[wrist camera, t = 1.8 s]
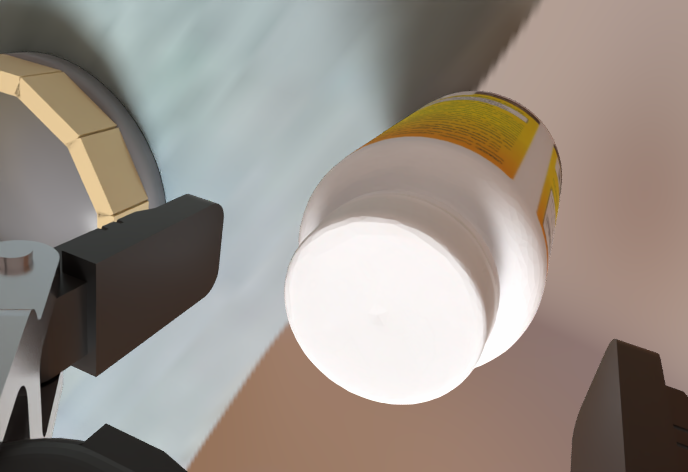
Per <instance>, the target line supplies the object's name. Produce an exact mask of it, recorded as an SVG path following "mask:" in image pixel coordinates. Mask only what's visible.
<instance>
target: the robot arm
mask: <svg viewBox="0 0 688 472" xmlns="http://www.w3.org/2000/svg"><path fill="white" fill-rule="evenodd" d="M223 220H224V213H223V209H222V207H221V205H219V204H217V203H214V202H211V201H208V200H205V199H202V198H199V197H196V196H193V195H190V194H185V195H183V196H181V197H178V198H176V199H174V200H172V201H170V202H167V203H165V204H163V205H161V206H158V207H156V208H152V209H147V210H141V211H136V212H133V213H131V214H129V215H126V216H124V217H122V218H120V219H117V222H114V221H113V222H111V223H108V224H106V225H104V226H102V228H101V229H100V228H97V229H95V230H92V231H90V232H88V233H86V234H83V235H81V236H79V237H76V238H74V239H72V240H70V241H67V242H65V243H63V244H61V245H58V246H56V247H54V248H53V247H51V246H49V245H46V244H44V243H40V242H35V241H27V240H11V241H2V242H0V472H187V471H186V470H185V469H184V468H182V467H181V466H180V465H179V464H178V463H177V462H176V461H174V460H173V459H172V458H171V457H170V456H169V455H167V454H166V453H165V452H164V451H162V450H160V449H158V448H156V447H154V446H151V445H149V444H147V443H145V442H143V441H141V440H139V439H137V438H135V437H133V436H131V435H129V434H127V433H125V432H122V431H120V430H118V429H116V428H114V427H112V426H110V425H108V424H105V425H104V426H102V427H101V428H100V429H99V430H98V431H97V432H95V433H94V434H93V435H92V436H91V437H90V438H88V439H87V440H86V441H81V440H73V439H64V438H52V434H53V429H54V425H55V420H56V416H57V411H58V406H59V402H60V397H61V393H62V388H63V370H65V369H66V368H68V367H69V366H73V367H76V368H78V369H80V370H82V371H84V372H86V373H89V374H91V375H93V376H95V377H97V376H98V375H99V374H101V373H102V372H103V371H105V370H106V369H108V368H109V367H110V366H112V365H113V364H114V363H116V362H117V361H118V360H120V359H121V358H122V357H124V356H125V355H127V354H128V353H129V352H131V351H132V350H133V349H135V348H136V347H137V346H139V345H140V344H141V343H143V342H144V341H146V340H147V339H148V338H150V337H151V336H152V335H154V334H155V333H156V332H158V331H159V330H160V329H162V328H163V327H164V326H166V325H167V324H169V323H170V322H171V321H173V320H174V319H175V318H177V317H178V316H179V315H181V314H182V313H183V312H185V311H186V310H188V309H189V308H190V307H192V306H193V305H194V304H196V303H197V302H198V301H200V300H201V299H202V298H204V297H205V296H206V295H207V294H208V293H209V292H210V290H211V289H212V287H213V285H214V283H215V281H216V278H217V275H218V270H219V260H220V250H221V240H222V230H223ZM571 472H688V397H687V395H686V394H685V393H684V392H683V391H680V390H677V389H674V388H671V387H668V386H666V385H665V380H664V375H663V370H662V365H661V359H660V356H659V354H658V353H656V352H653V351H650V350H647V349H644V348H641V347H638V346H635V345H632V344H629V343H626V342H623V341H620V340H617V339H613V340H612V341H611V342H610V344H609V346H608V348H607V350H606V351H605V354H604V356H603V358H602V361H601V363H600V365H599V367H598V370H597V372H596V374H595V376H594V379H593V381H592V383H591V386H590V388H589V390H588V392H587V395H586V397H585V399H584V401H583V404H582V406H581V409H580V411H579V414H578V417H577V420H576V424H575V428H574V432H573V438H572V454H571Z"/></svg>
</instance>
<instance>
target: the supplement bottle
mask: <svg viewBox="0 0 688 472" xmlns="http://www.w3.org/2000/svg"><path fill="white" fill-rule="evenodd" d="M561 184H562V170H561V161H560V157H559V153H558V150H557V147H556V145H555V142H554V140H553V138H552V136H551V135H550V133H549V131H548V130H547V128H546V127H545V125H544V124H543V123H542V122H541V121H540V120H539V119H538V117H536V116H535V115H534V114H533V113H532V112H531V111H530V110H528V109H527V108H526V107H524V106H522V105H521V104H520V103H518V102H516V101H514V100H512V99H510V98H507V97H504V96H501V95H498V94H495V93H490V92H484V91H464V92H458V93H453V94H450V95H446V96H443V97H441V98H438V99H436V100H434V101H432V102H430V103H429V104H427V105H425V106H423V107H422V108H420V109H419V110H417V111H416V112H414V113H413V114H411V115H410V116H408V117H406V118H405V119H403V120H402V121H400V122H399V123H397V124H396V125H394V126H392V127H391V128H389V129H388V130H386V131H385V132H383V133H382V134H380V135H379V136H377V137H376V138H374V139H373V140H371V141H370V142H368V143H367V144H365V145H363V146H362V147H361V148H359V149H357V150H356V151H354V152H353V153H351V154H350V155H348V156H347V157H345V158H344V159H343V160H342V161H340V162H339V163H338V164H337V165H336V166H334V167H333V168H332V169H331V170H330V171H329V172H328V173H327V174H326V175H325V176H324V178H323V179H322V180H321V181H320V183H319V184H318V185H317V187H316V189H315V190H314V192H313V193H312V195H311V197H310V199H309V201H308V204H307V206H306V209H305V212H304V214H303V218H302V222H301V226H300V233H299V247H298V249H297V250H296V251H295V253H294V255H293V257H292V259H291V262H290V264H289V267H288V271H287V274H286V279H285V286H284V297H285V307H286V312H287V316H288V320H289V323H290V326H291V328H292V331H293V333H294V335H295V337H296V339H297V341H298V343H299V345H300V346H301V348H302V350H303V351H304V353H305V354H306V355H307V357H308V358H309V359H310V360H311V362H312V363H313V364H314V365H315V366H316V367H317V368H318V369H319V370H320V371H321V372H322V373H323V374H325V375H326V376H327V377H328V378H329V379H331V380H332V381H333V382H335V383H336V384H338V385H340V386H341V387H343V388H344V389H346V390H348V391H350V392H352V393H354V394H356V395H359V396H361V397H364V398H367V399H370V400H373V401H377V402H382V403H389V404H416V403H421V402H426V401H429V400H432V399H435V398H438V397H440V396H442V395H444V394H446V393H448V392H450V391H451V390H453V389H454V388H455V387H457V386H458V385H459V384H461V383H462V382H463V381H464V380H465V379H466V378H467V376H468V375H469V374H470V373H471V372H472V370H473V369H474V368H475V367H478V366H481V365H483V364H485V363H487V362H489V361H490V360H493V359H494V358H496V357H498V356H499V355H501V354H502V353H504V352H505V351H507V350H508V349H509V348H510V347H511V346H512V345H513V344H514V343H515V342H516V341H517V340H518V339H519V337H520V336H521V335H522V334H523V333H524V332H525V330H526V329H527V327H528V326H529V324H530V323H531V321H532V319H533V317H534V315H535V313H536V312H537V309H538V306H539V304H540V301H541V298H542V294H543V291H544V287H545V283H546V277H547V270H548V266H549V259H550V254H551V248H552V242H553V236H554V231H555V225H556V218H557V213H558V207H559V200H560V193H561Z"/></svg>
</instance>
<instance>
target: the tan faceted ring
mask: <svg viewBox="0 0 688 472" xmlns="http://www.w3.org/2000/svg"><path fill="white" fill-rule="evenodd" d="M163 204H165V195H164V190H163V186H162V182H161V178H160V174H159V171H158V168H157V165H156V162H155V160H154V157H153V155H152V152H151V150H150V148H149V146H148V144H147V142H146V140H145V138H144V136H143V134H142V133H141V131H140V129H139V128H138V126H137V124H136V123H135V121H134V120H133V118H132V117H131V116H130V114H129V113H128V111H127V110H126V109H125V107H124V106H123V105H122V104H121V103H120V101H119V100H118V99H117V98H116V97H115V96H114V95H113V94H112V93H111V91H109V90H108V89H107V88H106V87H105V86H104V85H103V84H102V83H101V82H99V81H98V80H97V79H96V78H95V77H93V76H92V75H90V74H89V73H87V72H86V71H85V70H83V69H82V68H80V67H78V66H76V65H74V64H72V63H71V62H69V61H67V60H64V59H61V58H59V57H56V56H53V55H49V54H44V53H39V52H17V53H6V54H0V242H2V241H11V240H27V241H35V242H40V243H44V244H46V245H49V246H51V247H53V248H54V247H56V246H58V245H61V244H63V243H65V242H67V241H70V240H72V239H74V238H76V237H79V236H81V235H83V234H86V233H88V232H90V231H92V230H95V229H97V228H100V229H101V228H102V226H104V225H106V224H108V223H111V222H113V221H114V222H117V219H120V218H122V217H124V216H126V215H129V214H131V213H133V212H136V211H141V210H147V209H152V208H156V207H158V206H161V205H163Z"/></svg>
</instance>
